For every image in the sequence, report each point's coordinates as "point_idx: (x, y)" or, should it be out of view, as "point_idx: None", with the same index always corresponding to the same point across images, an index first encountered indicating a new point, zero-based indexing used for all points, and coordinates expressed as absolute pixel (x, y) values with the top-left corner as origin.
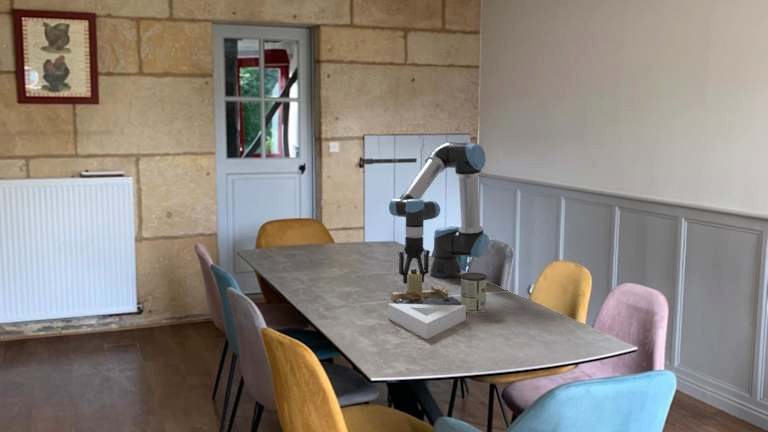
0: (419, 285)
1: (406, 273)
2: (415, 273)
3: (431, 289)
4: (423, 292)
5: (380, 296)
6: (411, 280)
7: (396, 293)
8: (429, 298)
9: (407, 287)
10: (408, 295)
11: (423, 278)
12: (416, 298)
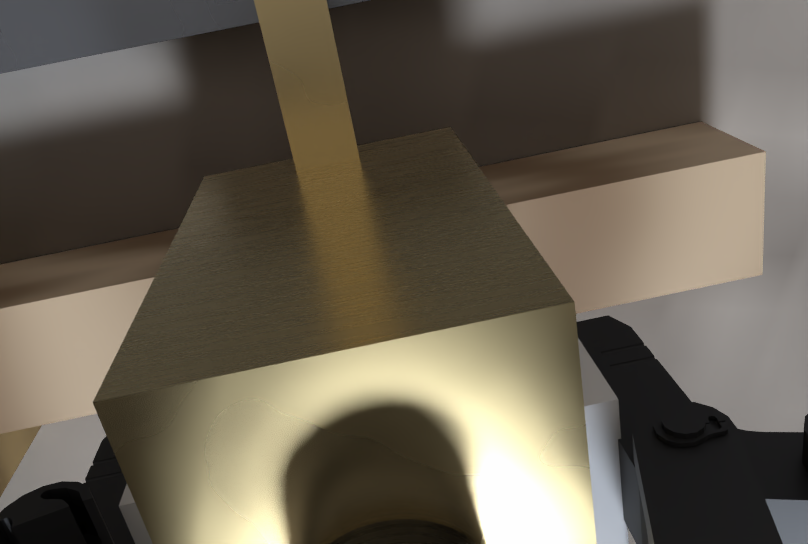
0: (244, 219)
1: (695, 467)
2: (349, 520)
3: (4, 480)
4: None
5: (792, 401)
6: (496, 225)
7: (697, 209)
8: (62, 36)
9: None
10: None
11: (94, 486)
12: None
